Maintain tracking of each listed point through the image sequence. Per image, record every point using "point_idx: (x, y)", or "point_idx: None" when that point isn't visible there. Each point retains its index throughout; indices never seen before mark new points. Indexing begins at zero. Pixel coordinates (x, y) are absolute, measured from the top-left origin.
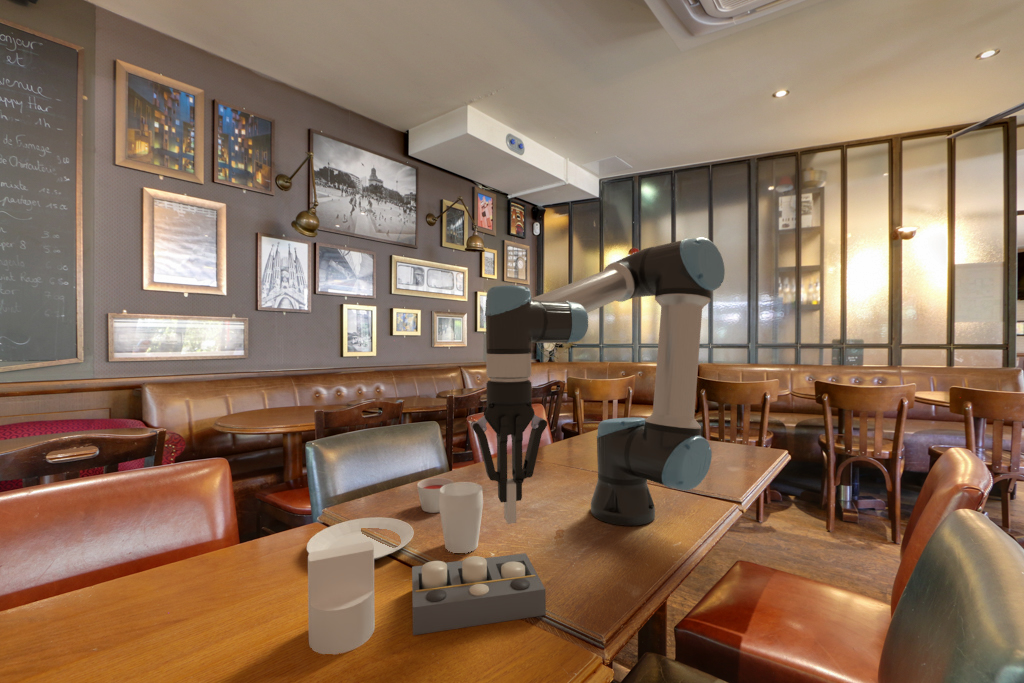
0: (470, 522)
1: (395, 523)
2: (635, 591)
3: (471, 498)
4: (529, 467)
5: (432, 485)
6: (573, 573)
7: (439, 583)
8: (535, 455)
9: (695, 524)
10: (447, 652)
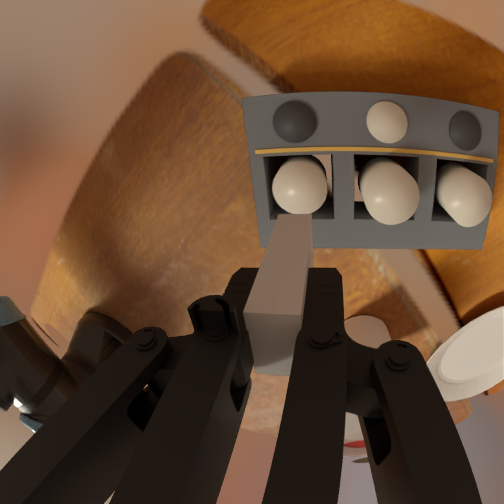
0: None
1: None
2: (108, 154)
3: None
4: (126, 371)
5: (360, 447)
6: (184, 216)
7: (457, 169)
8: (61, 416)
9: (49, 293)
10: (428, 48)
